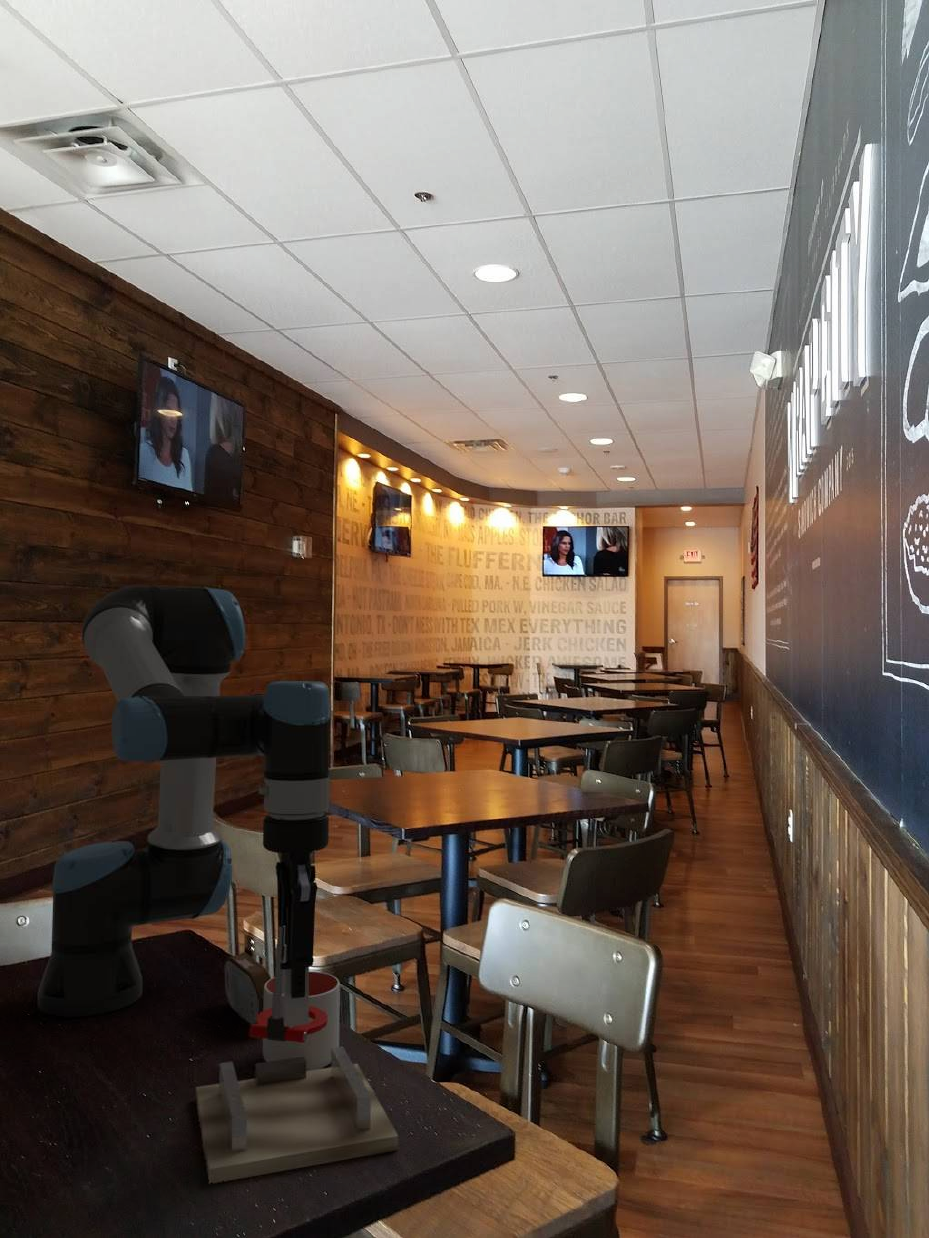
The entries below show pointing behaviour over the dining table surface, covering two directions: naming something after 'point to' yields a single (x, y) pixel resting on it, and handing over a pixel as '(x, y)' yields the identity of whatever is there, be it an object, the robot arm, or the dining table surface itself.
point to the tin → (245, 986)
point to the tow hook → (273, 1018)
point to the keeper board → (289, 1127)
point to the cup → (319, 1043)
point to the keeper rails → (288, 1070)
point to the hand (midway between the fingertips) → (293, 1019)
